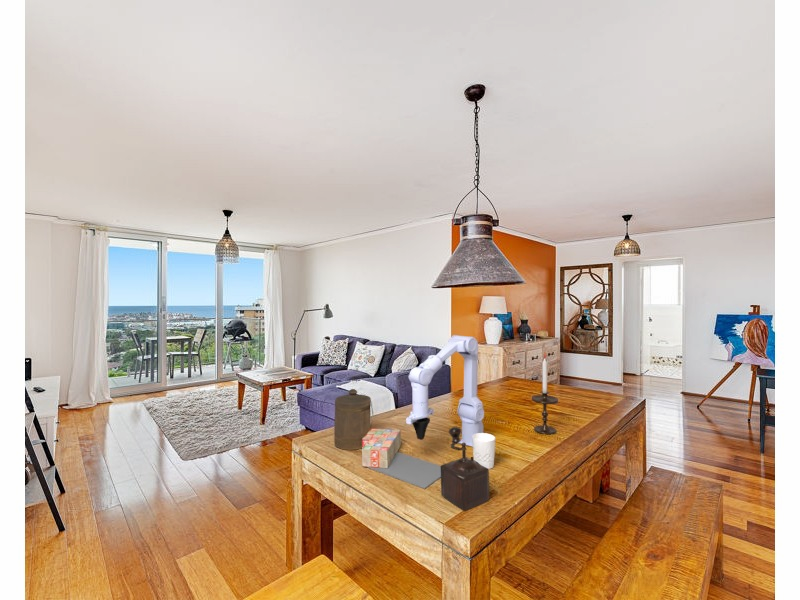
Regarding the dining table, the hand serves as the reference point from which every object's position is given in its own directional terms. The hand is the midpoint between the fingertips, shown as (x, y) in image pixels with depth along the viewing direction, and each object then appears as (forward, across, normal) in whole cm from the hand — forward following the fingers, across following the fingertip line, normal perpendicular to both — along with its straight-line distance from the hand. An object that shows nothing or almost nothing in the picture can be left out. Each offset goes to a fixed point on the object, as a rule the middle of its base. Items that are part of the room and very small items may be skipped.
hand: (420, 438), depth 137 cm
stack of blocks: (+5, +2, -10) cm, 11 cm away
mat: (+8, +7, 0) cm, 11 cm away
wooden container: (+9, +2, -32) cm, 33 cm away
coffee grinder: (+9, +11, +22) cm, 26 cm away
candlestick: (+9, -58, +26) cm, 64 cm away
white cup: (+9, -11, +19) cm, 24 cm away
